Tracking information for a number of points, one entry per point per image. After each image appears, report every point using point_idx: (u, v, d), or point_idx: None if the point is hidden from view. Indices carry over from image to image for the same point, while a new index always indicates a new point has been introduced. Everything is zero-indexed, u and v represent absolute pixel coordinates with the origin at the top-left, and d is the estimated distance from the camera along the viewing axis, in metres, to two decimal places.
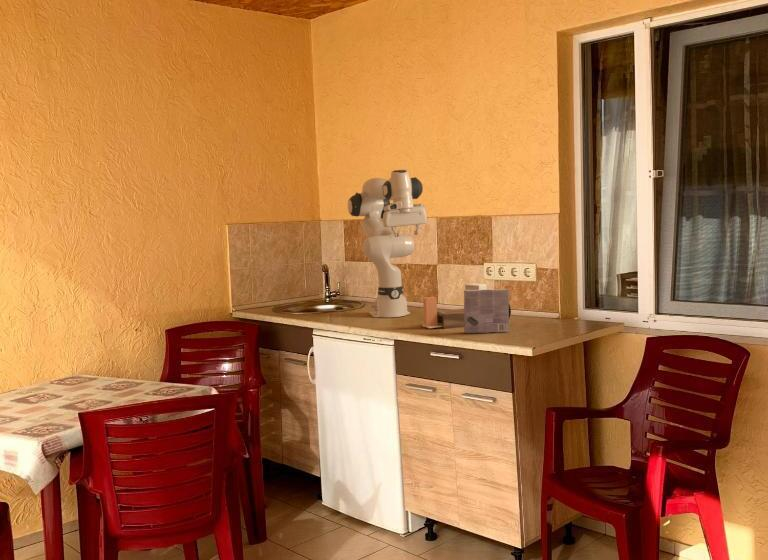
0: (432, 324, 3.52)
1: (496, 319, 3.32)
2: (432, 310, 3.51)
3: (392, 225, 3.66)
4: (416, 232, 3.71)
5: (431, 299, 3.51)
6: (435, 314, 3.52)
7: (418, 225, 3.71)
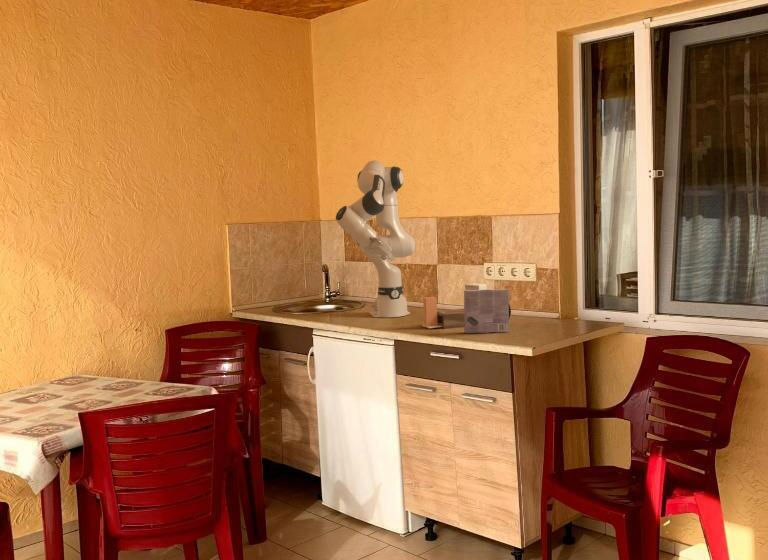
0: (432, 324, 3.52)
1: (496, 319, 3.32)
2: (432, 310, 3.51)
3: (372, 254, 3.55)
4: (390, 259, 3.46)
5: (431, 299, 3.51)
6: (435, 314, 3.52)
7: (386, 255, 3.44)
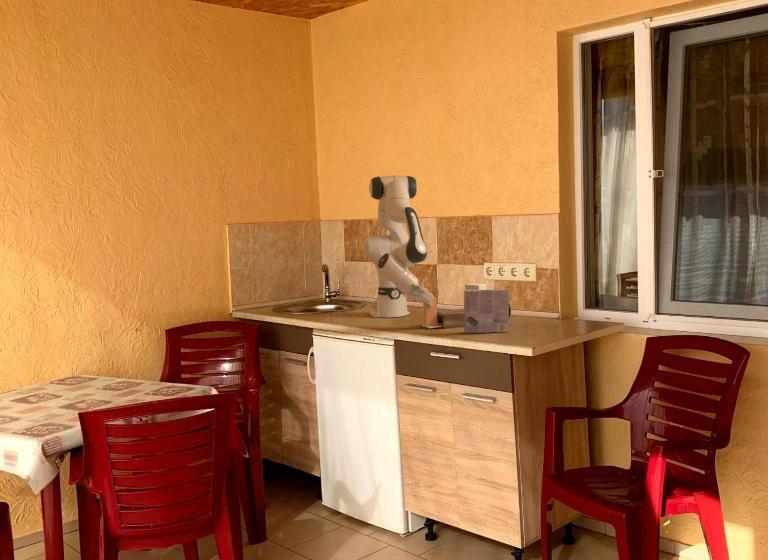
0: (432, 324, 3.52)
1: (496, 319, 3.32)
2: (432, 310, 3.51)
3: (413, 298, 3.57)
4: (429, 305, 3.50)
5: None
6: (435, 314, 3.52)
7: (425, 301, 3.48)
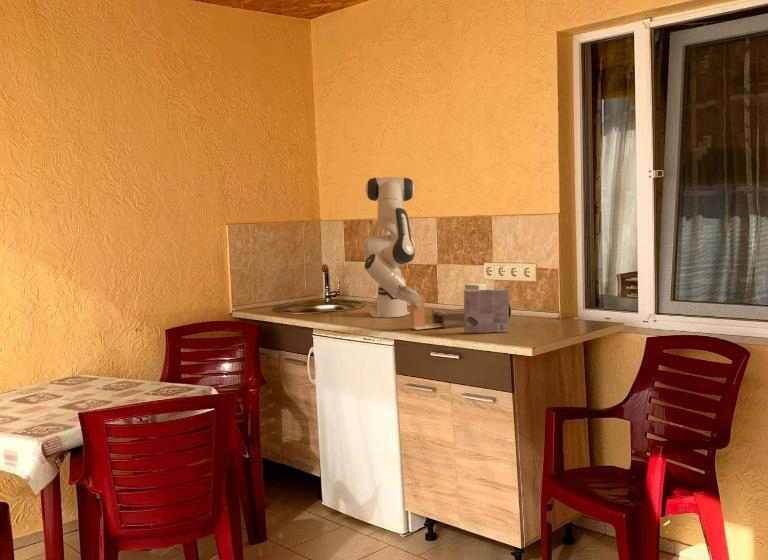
0: (419, 325, 3.50)
1: (496, 319, 3.32)
2: (420, 311, 3.49)
3: (400, 299, 3.55)
4: (416, 306, 3.48)
5: None
6: (422, 315, 3.50)
7: None
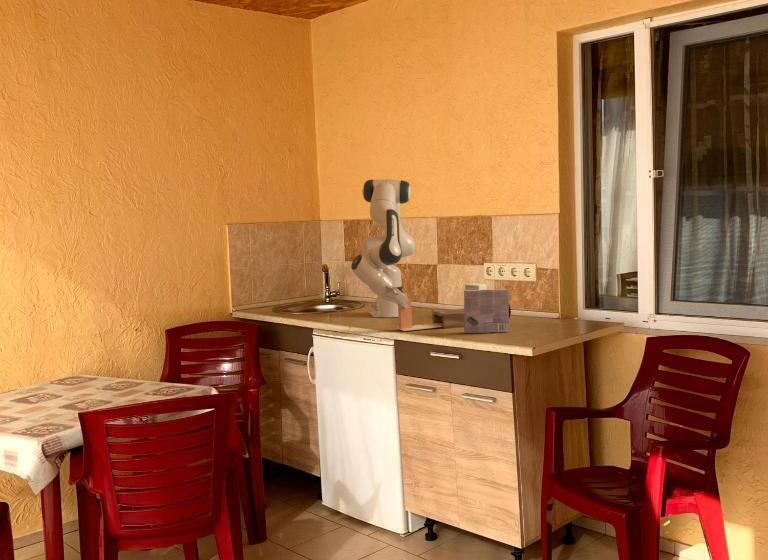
0: (407, 327, 3.48)
1: (496, 319, 3.32)
2: (407, 312, 3.47)
3: (388, 300, 3.53)
4: None
5: (406, 301, 3.46)
6: (410, 316, 3.48)
7: None
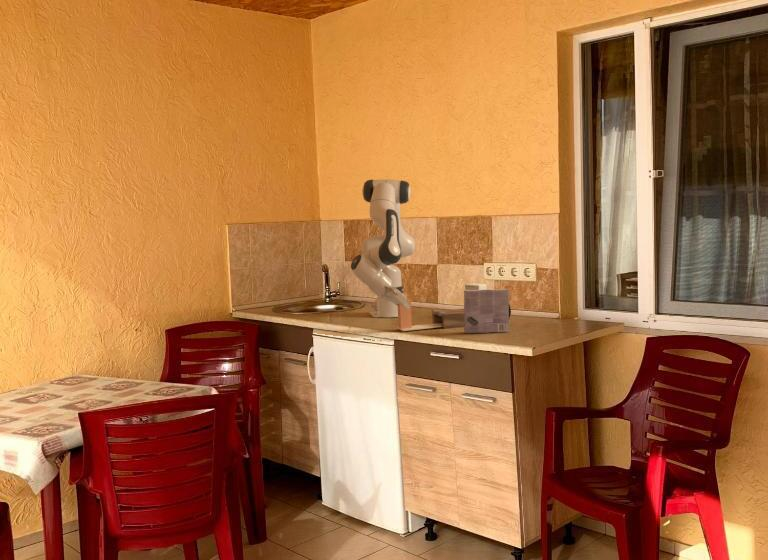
0: (406, 327, 3.47)
1: (496, 319, 3.32)
2: (407, 313, 3.47)
3: (387, 300, 3.52)
4: (405, 307, 3.43)
5: None
6: (409, 317, 3.48)
7: None
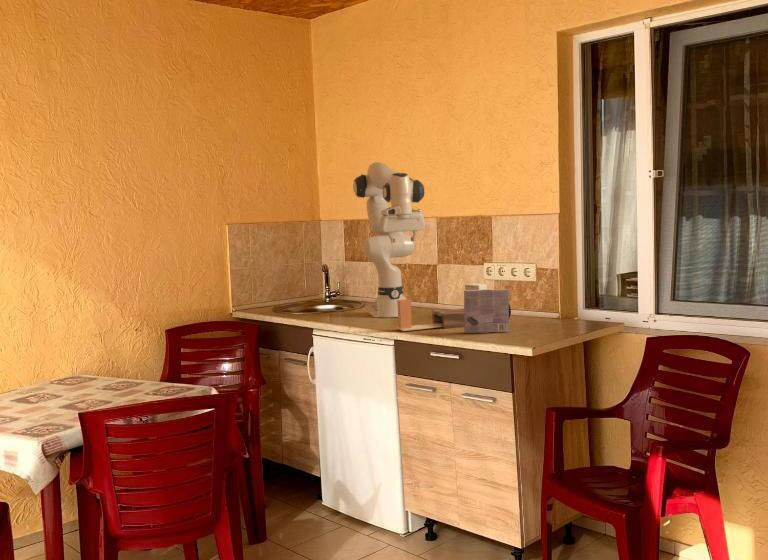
0: (406, 327, 3.47)
1: (496, 319, 3.32)
2: (407, 313, 3.47)
3: (389, 231, 3.54)
4: (413, 238, 3.59)
5: (405, 301, 3.46)
6: (409, 317, 3.48)
7: (415, 231, 3.59)
